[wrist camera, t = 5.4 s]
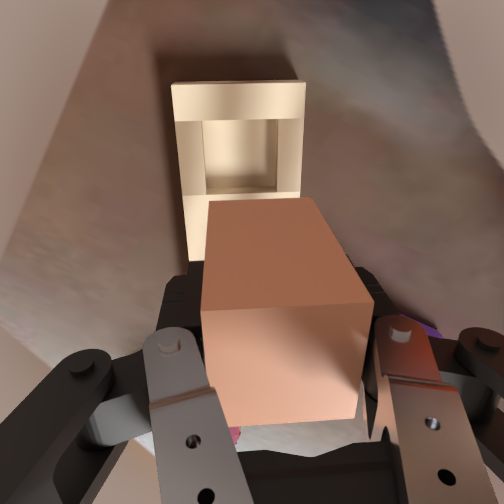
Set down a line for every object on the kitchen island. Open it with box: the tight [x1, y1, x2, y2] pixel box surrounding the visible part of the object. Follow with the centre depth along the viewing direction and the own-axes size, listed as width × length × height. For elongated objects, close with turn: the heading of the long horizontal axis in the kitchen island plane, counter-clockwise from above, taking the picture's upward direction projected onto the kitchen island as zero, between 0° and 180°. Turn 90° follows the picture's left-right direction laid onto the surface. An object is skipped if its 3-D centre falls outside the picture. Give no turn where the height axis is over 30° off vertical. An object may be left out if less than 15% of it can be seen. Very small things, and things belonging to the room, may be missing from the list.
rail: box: [171, 80, 306, 261], centre depth 33 cm, size 9×26×2 cm, turn 1°
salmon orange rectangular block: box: [200, 197, 374, 427], centre depth 13 cm, size 4×4×7 cm
